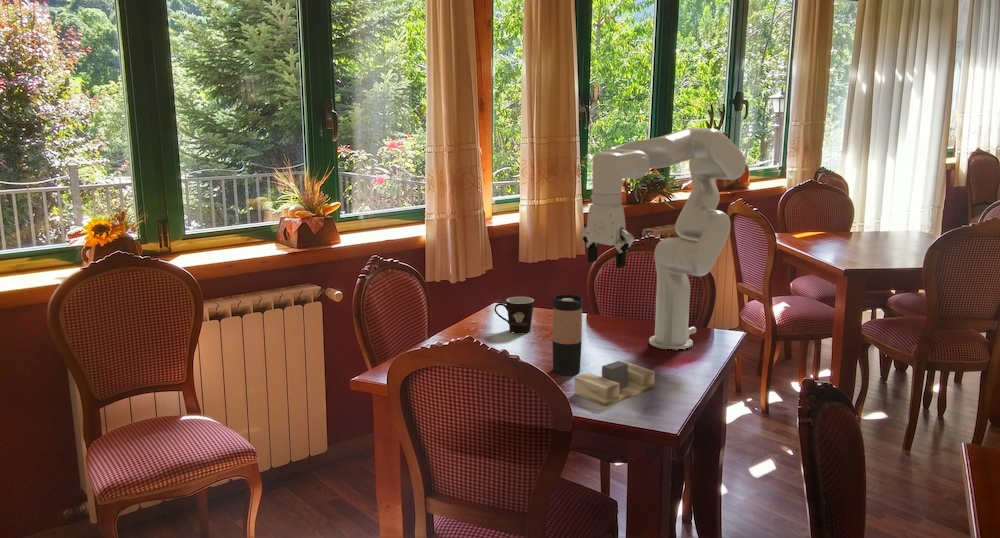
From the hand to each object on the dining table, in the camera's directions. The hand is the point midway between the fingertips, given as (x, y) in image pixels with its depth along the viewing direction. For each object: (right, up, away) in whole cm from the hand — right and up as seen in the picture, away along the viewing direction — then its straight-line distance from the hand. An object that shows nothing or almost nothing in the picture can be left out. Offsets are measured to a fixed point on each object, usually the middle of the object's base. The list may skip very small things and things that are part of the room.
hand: (606, 264), depth 201 cm
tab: (0, -31, -14) cm, 34 cm away
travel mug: (-11, -29, 0) cm, 31 cm away
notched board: (0, -31, -14) cm, 34 cm away
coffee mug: (-23, -21, +37) cm, 48 cm away
